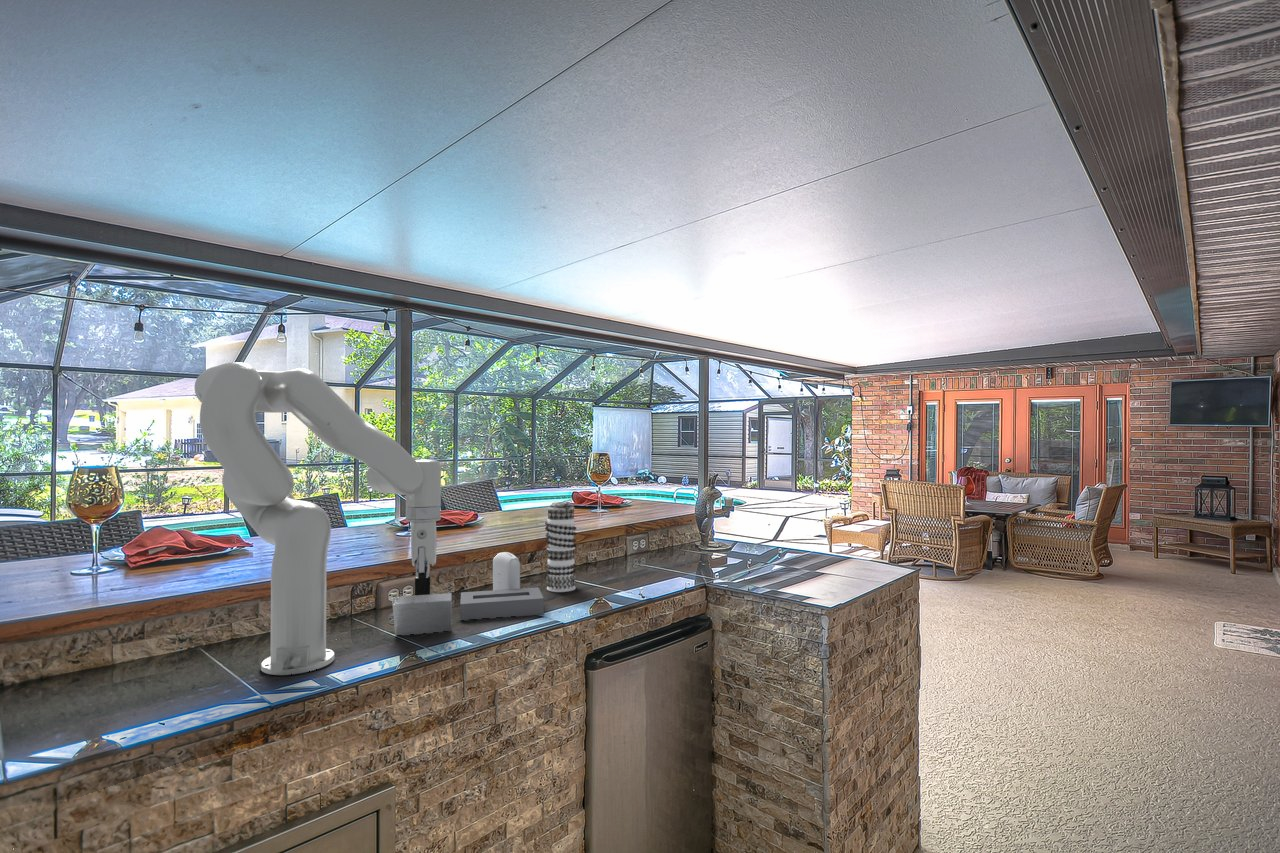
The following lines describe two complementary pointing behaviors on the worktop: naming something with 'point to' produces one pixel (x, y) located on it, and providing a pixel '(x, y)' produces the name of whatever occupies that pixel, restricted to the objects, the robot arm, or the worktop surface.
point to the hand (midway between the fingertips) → (422, 595)
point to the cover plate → (422, 614)
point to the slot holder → (501, 603)
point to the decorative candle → (560, 547)
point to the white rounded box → (506, 571)
